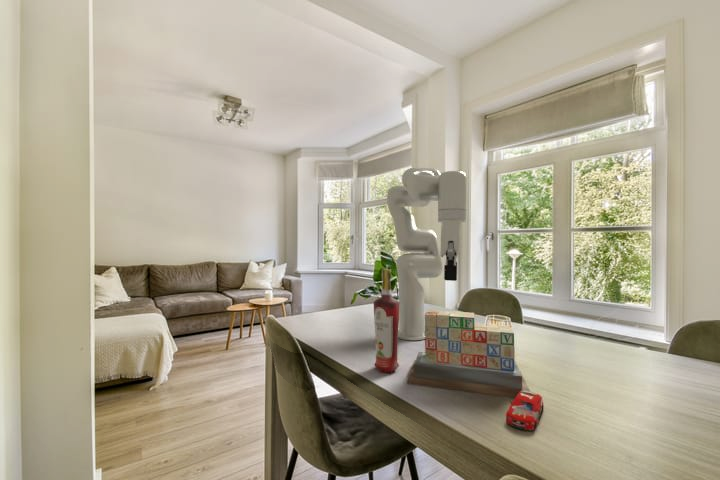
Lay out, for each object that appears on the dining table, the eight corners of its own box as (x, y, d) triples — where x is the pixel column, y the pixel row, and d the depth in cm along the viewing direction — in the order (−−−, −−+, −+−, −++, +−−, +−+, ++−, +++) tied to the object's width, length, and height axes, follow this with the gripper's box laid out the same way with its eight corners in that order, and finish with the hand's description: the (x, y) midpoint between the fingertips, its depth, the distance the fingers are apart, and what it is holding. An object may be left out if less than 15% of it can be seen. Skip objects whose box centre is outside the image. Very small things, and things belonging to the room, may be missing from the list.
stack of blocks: (512, 363, 82) (512, 315, 83) (514, 372, 77) (514, 320, 77) (428, 353, 90) (428, 309, 90) (424, 360, 84) (424, 313, 84)
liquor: (368, 370, 90) (368, 269, 90) (382, 362, 96) (382, 268, 96) (390, 377, 85) (390, 271, 86) (404, 368, 91) (404, 269, 91)
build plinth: (414, 365, 94) (414, 349, 94) (520, 376, 85) (520, 359, 85) (407, 383, 81) (407, 365, 81) (530, 399, 73) (530, 378, 73)
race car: (533, 437, 59) (533, 415, 59) (502, 427, 63) (502, 406, 63) (547, 408, 69) (547, 390, 69) (520, 401, 73) (519, 383, 73)
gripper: (439, 218, 99) (438, 273, 100) (435, 215, 83) (435, 281, 83) (465, 217, 97) (464, 274, 97) (466, 215, 80) (465, 283, 81)
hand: (450, 277), depth 90 cm, fingers open, 9 cm apart
